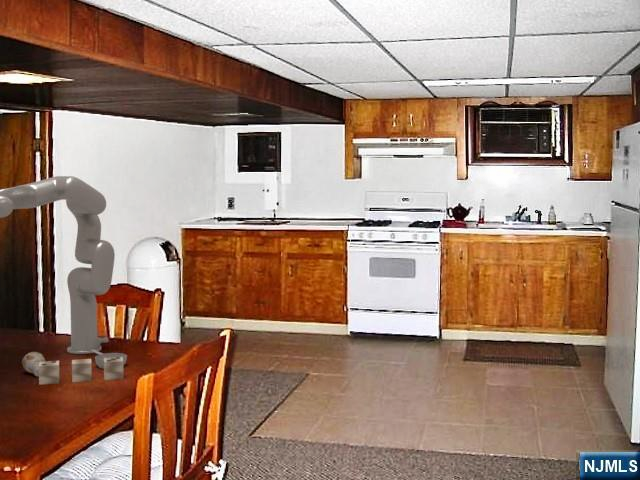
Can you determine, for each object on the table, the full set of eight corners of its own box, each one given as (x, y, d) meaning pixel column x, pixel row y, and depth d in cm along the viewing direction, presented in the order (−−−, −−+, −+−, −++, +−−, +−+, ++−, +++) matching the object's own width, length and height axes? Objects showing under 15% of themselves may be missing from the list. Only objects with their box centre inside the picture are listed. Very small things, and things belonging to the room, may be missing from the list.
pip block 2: (122, 374, 256) (122, 356, 256) (123, 379, 251) (123, 360, 250) (104, 375, 255) (103, 357, 254) (104, 380, 249) (104, 361, 248)
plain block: (91, 376, 254) (91, 358, 253) (91, 381, 248) (91, 363, 247) (72, 377, 252) (72, 359, 251) (72, 382, 246) (71, 364, 246)
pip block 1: (59, 378, 251) (59, 360, 250) (59, 383, 245) (58, 364, 244) (40, 380, 249) (39, 361, 248) (39, 384, 243) (38, 365, 243)
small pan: (105, 371, 260) (105, 360, 260) (78, 362, 272) (78, 352, 272) (133, 366, 268) (133, 355, 267) (105, 357, 280) (105, 347, 280)
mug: (31, 380, 249) (20, 352, 251) (29, 386, 257) (18, 359, 259) (54, 371, 253) (43, 344, 255) (51, 378, 261) (40, 351, 263)
